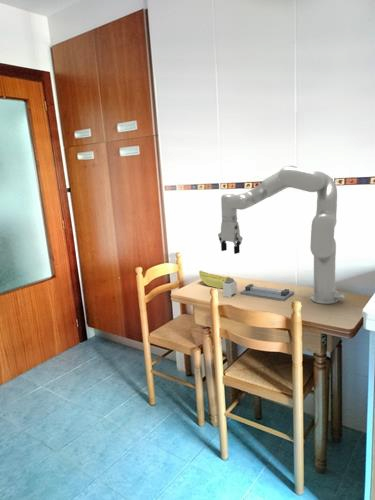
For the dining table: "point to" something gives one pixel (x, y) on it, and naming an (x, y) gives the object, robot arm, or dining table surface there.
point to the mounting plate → (267, 295)
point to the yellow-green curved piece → (213, 279)
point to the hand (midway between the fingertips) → (230, 251)
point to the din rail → (267, 290)
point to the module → (229, 288)
